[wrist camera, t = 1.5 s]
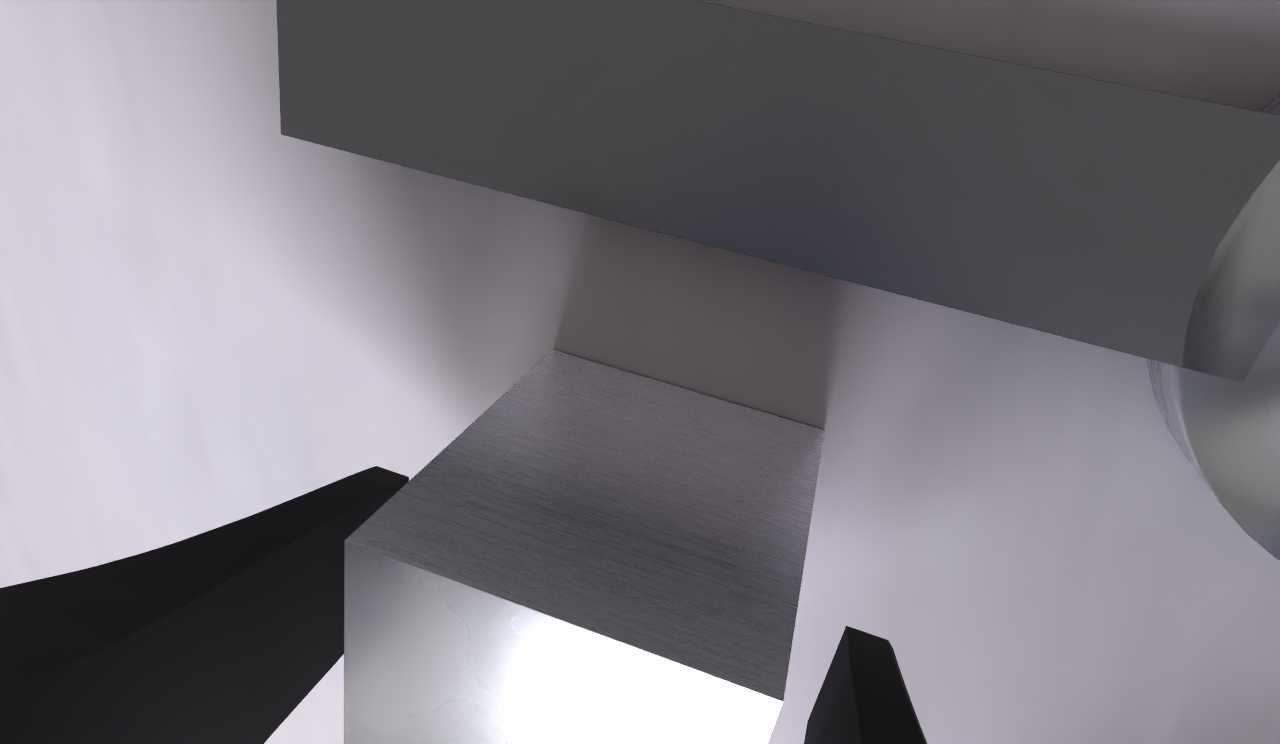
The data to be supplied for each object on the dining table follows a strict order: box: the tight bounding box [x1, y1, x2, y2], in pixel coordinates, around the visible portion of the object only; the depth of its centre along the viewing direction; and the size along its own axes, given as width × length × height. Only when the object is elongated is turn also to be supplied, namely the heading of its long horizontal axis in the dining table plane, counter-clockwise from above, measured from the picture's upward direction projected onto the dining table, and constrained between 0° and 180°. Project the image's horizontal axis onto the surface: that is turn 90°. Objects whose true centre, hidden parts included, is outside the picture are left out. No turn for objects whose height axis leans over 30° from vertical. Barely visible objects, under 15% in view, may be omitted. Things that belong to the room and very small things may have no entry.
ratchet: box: [277, 0, 1280, 560], centre depth 8 cm, size 8×21×5 cm, turn 80°
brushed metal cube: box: [344, 350, 824, 744], centre depth 12 cm, size 5×5×6 cm
